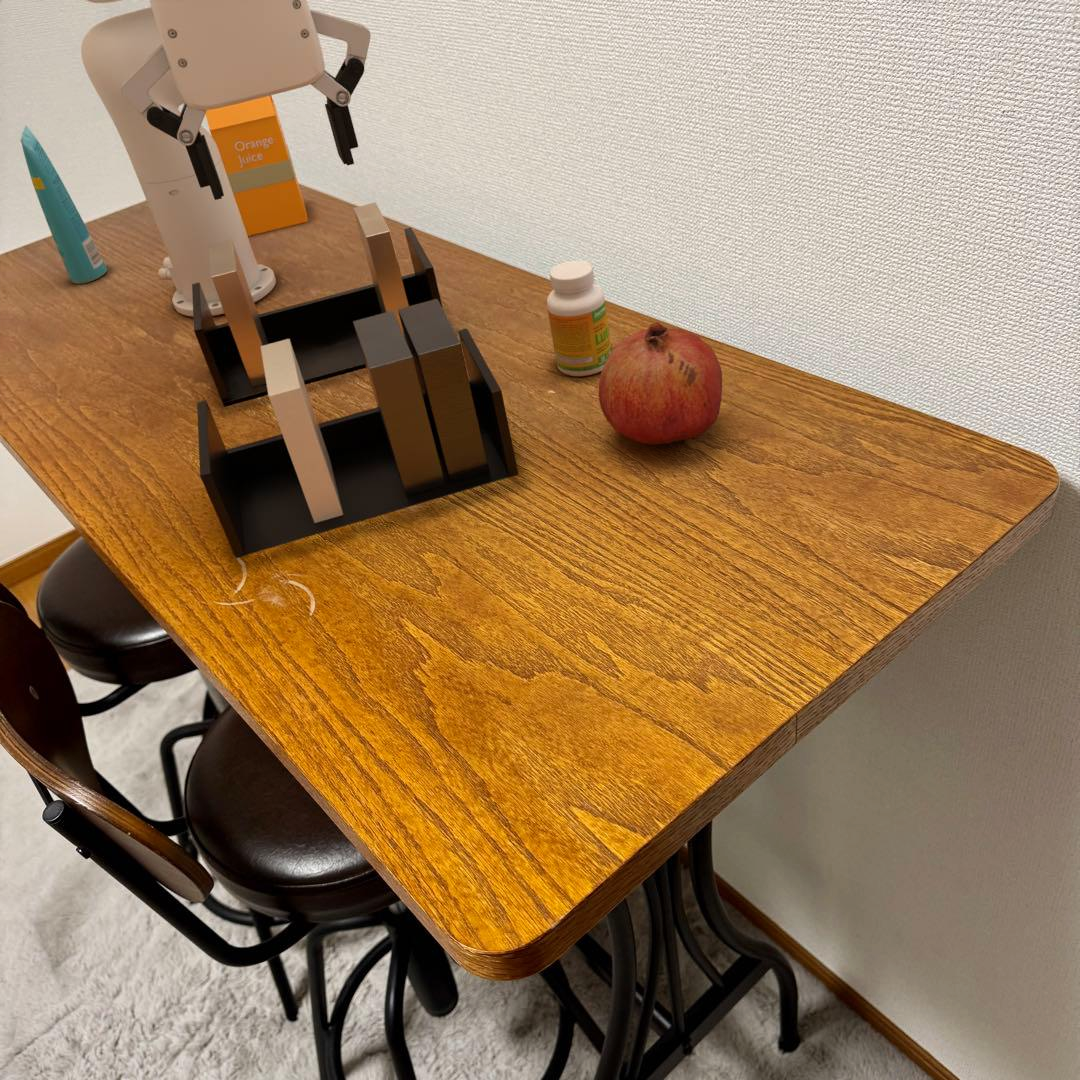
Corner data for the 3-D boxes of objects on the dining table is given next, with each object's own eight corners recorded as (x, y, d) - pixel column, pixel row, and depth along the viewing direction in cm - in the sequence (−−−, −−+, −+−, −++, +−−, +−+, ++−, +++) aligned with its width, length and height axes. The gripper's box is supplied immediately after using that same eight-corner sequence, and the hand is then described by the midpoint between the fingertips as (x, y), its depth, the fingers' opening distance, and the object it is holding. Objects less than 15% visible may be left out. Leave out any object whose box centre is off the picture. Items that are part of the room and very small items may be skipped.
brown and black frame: (225, 411, 104) (178, 291, 96) (221, 360, 114) (177, 247, 106) (452, 348, 107) (424, 227, 99) (429, 304, 117) (402, 190, 109)
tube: (70, 272, 143) (4, 130, 131) (105, 262, 144) (43, 119, 132) (72, 291, 137) (4, 143, 126) (109, 280, 138) (45, 133, 127)
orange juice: (244, 218, 149) (194, 71, 137) (305, 203, 150) (261, 56, 138) (245, 237, 143) (193, 85, 131) (308, 221, 144) (262, 69, 132)
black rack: (239, 567, 83) (180, 430, 75) (232, 489, 93) (179, 360, 85) (520, 484, 86) (491, 343, 78) (486, 416, 96) (457, 285, 88)
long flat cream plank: (314, 523, 85) (268, 396, 77) (303, 467, 92) (260, 346, 84) (343, 515, 85) (300, 387, 78) (330, 460, 92) (289, 338, 85)
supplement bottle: (608, 377, 98) (595, 280, 92) (552, 379, 99) (536, 284, 93) (616, 348, 102) (604, 254, 96) (562, 351, 103) (547, 258, 97)
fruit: (752, 435, 87) (749, 326, 81) (657, 484, 83) (645, 375, 77) (673, 389, 94) (664, 287, 88) (582, 433, 91) (566, 330, 85)
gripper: (324, -122, 70) (387, 135, 81) (66, -66, 68) (164, 192, 78) (341, -117, 65) (406, 160, 75) (59, -55, 62) (167, 223, 72)
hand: (283, 176), depth 77 cm, fingers open, 9 cm apart
